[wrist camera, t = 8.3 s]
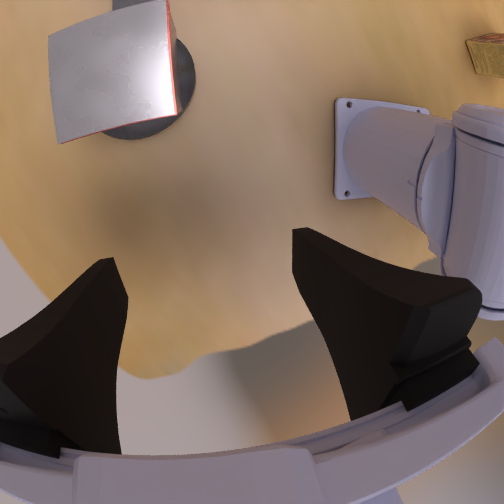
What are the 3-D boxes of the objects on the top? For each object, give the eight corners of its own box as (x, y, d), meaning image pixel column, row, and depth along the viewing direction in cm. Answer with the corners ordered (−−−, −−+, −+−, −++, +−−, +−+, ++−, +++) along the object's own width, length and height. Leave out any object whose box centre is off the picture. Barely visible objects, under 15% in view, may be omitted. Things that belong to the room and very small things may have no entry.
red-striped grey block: (176, 29, 11) (167, -3, 7) (183, 111, 14) (176, 115, 9) (89, 50, 11) (47, 35, 6) (98, 130, 14) (57, 145, 9)
